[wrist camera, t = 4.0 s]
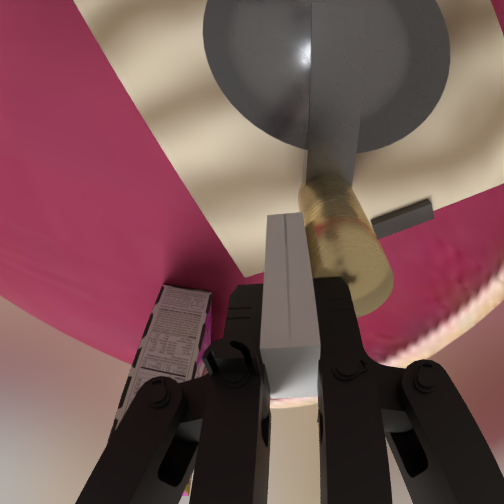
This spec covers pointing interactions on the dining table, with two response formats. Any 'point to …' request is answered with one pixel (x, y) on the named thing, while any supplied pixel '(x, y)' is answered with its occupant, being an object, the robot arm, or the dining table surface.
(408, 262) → the dining table surface
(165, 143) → the stand
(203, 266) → the dining table surface
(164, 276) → the dining table surface
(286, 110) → the grey round handled piece
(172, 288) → the candy bar box
